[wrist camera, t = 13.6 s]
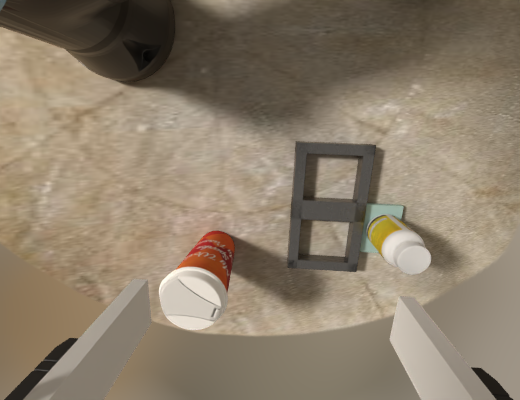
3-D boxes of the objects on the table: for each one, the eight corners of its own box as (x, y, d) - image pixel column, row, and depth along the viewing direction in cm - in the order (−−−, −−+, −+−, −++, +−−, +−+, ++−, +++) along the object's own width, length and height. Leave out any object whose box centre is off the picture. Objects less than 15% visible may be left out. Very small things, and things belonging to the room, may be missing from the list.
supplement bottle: (361, 242, 42) (386, 276, 33) (369, 211, 41) (397, 237, 32) (395, 247, 42) (430, 282, 33) (404, 215, 41) (443, 242, 31)
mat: (365, 203, 41) (367, 204, 41) (401, 204, 41) (403, 206, 40) (358, 249, 44) (359, 251, 43) (392, 251, 43) (394, 253, 43)
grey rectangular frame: (295, 141, 39) (296, 142, 38) (370, 144, 39) (375, 145, 37) (287, 261, 45) (287, 267, 43) (352, 265, 45) (356, 271, 43)
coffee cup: (248, 234, 44) (235, 288, 30) (232, 274, 46) (212, 343, 32) (201, 216, 44) (164, 262, 29) (186, 258, 46) (146, 319, 32)
